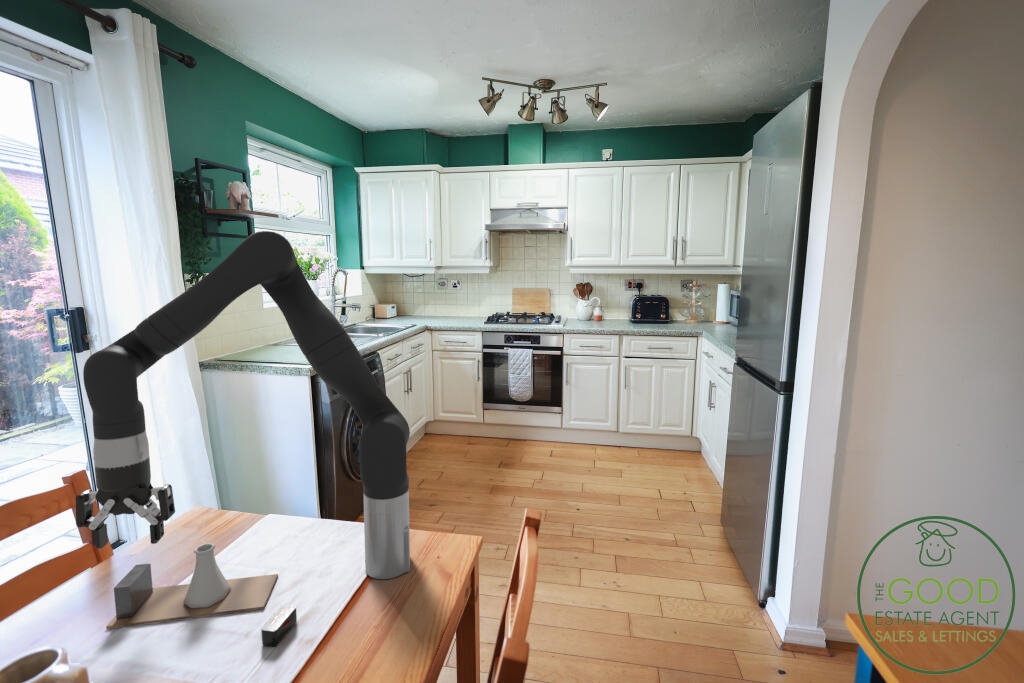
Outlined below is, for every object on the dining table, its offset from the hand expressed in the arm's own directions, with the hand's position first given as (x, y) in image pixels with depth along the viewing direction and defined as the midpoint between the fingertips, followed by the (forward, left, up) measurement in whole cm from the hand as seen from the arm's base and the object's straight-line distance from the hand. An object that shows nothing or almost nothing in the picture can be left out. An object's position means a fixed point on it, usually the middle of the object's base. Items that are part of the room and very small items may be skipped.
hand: (129, 543), depth 85 cm
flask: (-12, 0, -12) cm, 17 cm away
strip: (-11, 0, -13) cm, 17 cm away
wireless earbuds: (-27, +11, -13) cm, 32 cm away
